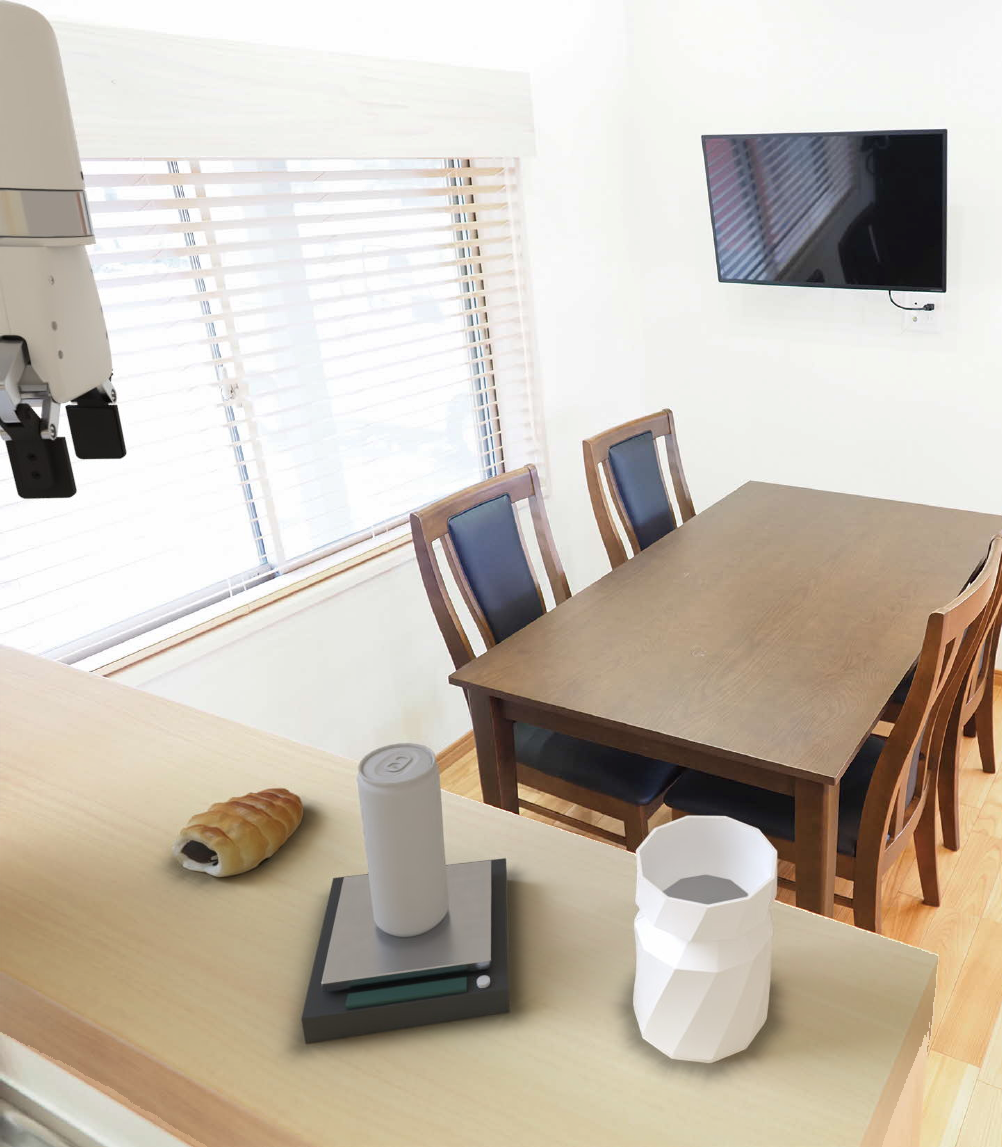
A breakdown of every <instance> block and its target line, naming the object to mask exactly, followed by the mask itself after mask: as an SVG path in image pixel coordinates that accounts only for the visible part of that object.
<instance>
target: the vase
mask: <svg viewBox="0 0 1002 1147" xmlns="http://www.w3.org/2000/svg"><path fill="white" fill-rule="evenodd" d="M635 857H636V868H637V871H636V872H637V873H636V887H635V896H634V903H635V904H636V905H637V907H638V908H639V910H638V912H637V914H636V915H635V918H634V920H633V931H634V940H635V941H634V942H635V954H636V964H635V977H634V978H635V979H634V986H633V995H632V1006H633V1011H634V1014H635V1018H636V1020H637V1024H638V1027H639V1031H640V1034H641V1037H642V1039H643V1040H645V1041H646V1042H647V1043H649V1044H650V1045H651V1046H653V1047H654V1048H656V1049H657V1050H659V1051H660V1052H661V1053H663V1054H664V1055H666V1056H667V1057H668V1058H669V1059H671V1060H679V1061H687V1062H696V1063H703V1064H712V1063H713V1064H714V1063H715V1062H717V1061H720V1060H723V1059H725V1058H727V1057H730V1056H733V1055H734V1054H735V1055H736V1054H737V1053H741V1052H742V1051H745V1050H747V1048H748V1047H749V1046H750V1044H751V1043H752V1042H753V1040H754V1039H755V1037H756V1036H757V1035H758V1033H759V1032H760V1030H761V1029H762V1028H763V1026H764V1025H765V1023H766V1021H767V1018H768V1009H769V1003H770V1002H769V1001H770V990H771V976H772V975H771V974H772V973H771V972H772V946H773V938H774V930H773V920H772V919H773V918H772V913H771V912H772V911H771V908H772V906H773V904H774V902H775V899H776V897H777V895H778V894H777V892H778V850H777V849H776V848H775V847H774V845H773V844H772V843H771V842H770V841H769V839H768V838H767V836H765V835H764V833H762V831H761V830H760V829H759V828H758V827H755V826H752V825H749V824H747V823H744V822H742V821H739V820H737V819H735V818H732V817H729V816H726V815H685V816H683V817H680V818H677V819H675V820H672V821H670V822H669V821H668V822H667V823H663V824H661V825H659V826H656V827H653V829H652V830H651V831H650V833H649V834H648V835H646V837H645V839H643V841H642V842H641V843H640V845H639V846H638V847H637V848H636V850H635Z"/></svg>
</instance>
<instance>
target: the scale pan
mask: <svg viewBox="0 0 1002 1147" xmlns="http://www.w3.org/2000/svg"><path fill="white" fill-rule="evenodd" d="M480 861H481V862H477V861H471V862H472V863H468V862H463V863H464V864H459V863H454V864H455V865H451V864H446V873H447V885H448V897H449V906H448V911H447V913H446V915H445V917H444V918H443V919H442V920H441V921H440V922H439V923H438V924H437V925H436V926H435V927H434V928H432V929H431V930H429V931H427V932H425V933H422V934H420V935H416V936H411V937H399V936H394V935H391V934H388V933H386V932H384V931H383V930H382V929H380V928H379V927H378V926H377V924H376V923H375V921H374V915H373V907H372V898H371V890H370V882H369V874H368V873H367V874H368V875H363V874H358V875H359V876H355V875H349V876H350V877H346V876H343V877H344V879H343V883H342V888H341V893H340V897H339V902H338V907H337V912H336V916H335V921H334V926H333V930H332V935H331V940H330V944H329V949H328V954H327V959H326V963H325V968H324V973H323V977H322V982H321V985H322V991H323V992H330V991H337V990H344V989H351V988H358V987H365V986H372V985H379V984H386V983H393V982H401V981H408V980H415V979H422V978H429V977H436V976H443V975H450V974H457V973H464V972H471V971H478V970H485V969H491V967H492V864H491V861H485V860H480Z"/></svg>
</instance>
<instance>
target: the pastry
mask: <svg viewBox="0 0 1002 1147" xmlns="http://www.w3.org/2000/svg"><path fill="white" fill-rule="evenodd" d="M301 799H302V798H301V797H300V796H299V795H298V794H295V793H293V792H290V791H289V790H288V789H287V788H285V787H278V788H277V787H275V788H274V787H271V788H266V789H262V790H260V791H258V792H248V793H247V794H245V795H243V796H233V797H231V798H229V799H227V801H225V802H216V803H213V804H211V805H210V807H209V808H208V809H207V811H205V812H203V813H198V814H194V815H193V816H191V818H190V819H189V820H188V822H187V824H186V827H183V828H182V829H180V831H179V834H178V835H177V837H176V838H175V840H174V841H173V844H172V846H171V848H170V851H171V856H172V857H173V859H175V860H176V861H178V862H179V864H180V865H182V866H183V868H185V869H186V870H189V871H194V872H199V873H207V875H211V876H213V877H218V878H224V877H231V876H234V875H235V876H237V875H241V874H244V873H246V872H248V871H251V870H253V869H255V868H257V867H258V866H259V864H260V863H261V862H263V861H264V860H265V859H270V858H271V857H272V856H273V855H274V854H275V853H276V852H278V851H279V849H280V848H281V847H282V846H283V845H284V844H285V843H286V842H287V841H288V839H289V838H290V837H291V836H292V835H293V834H294V833H295V832H296V830H297V829H298V827H299V826H300V825H301V824H302V820H303V816H304V805H303V802H302V800H301Z"/></svg>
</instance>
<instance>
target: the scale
mask: <svg viewBox="0 0 1002 1147" xmlns="http://www.w3.org/2000/svg"><path fill="white" fill-rule="evenodd" d="M481 861H482V860H477V861H476V862H481ZM484 861H491V864H492V967H491V969H485V970H478V971H471V972H464V973H457V974H450V975H443V976H436V977H429V978H422V979H415V980H408V981H401V982H393V983H386V984H379V985H372V986H365V987H358V988H351V989H344V990H337V991H330V992H323V991H322V985H321V982H322V977H323V973H324V968H325V963H326V959H327V954H328V949H329V944H330V940H331V935H332V930H333V926H334V921H335V916H336V912H337V907H338V902H339V897H340V893H341V888H342V883H343V879H344V877H350V876H351V875H346V876H339V877H333V878H332V880H331V881H332V882H331V886H330V891H329V895H328V899H327V904H326V908H325V912H324V917H323V921H322V926H321V930H320V935H319V939H318V944H317V948H316V953H315V956H314V962H313V965H312V970H311V975H310V978H309V984H308V987H307V992H306V996H305V1001H304V1005H303V1009H302V1014H301V1017H300V1020H301V1026H302V1033H303V1039H304V1044H305V1045H309V1044H316V1043H322V1042H327V1041H328V1042H329V1041H334V1040H340V1039H341V1040H342V1039H348V1038H354V1037H355V1038H356V1037H361V1036H367V1035H374V1034H380V1033H387V1032H393V1031H401V1030H406V1029H414V1028H419V1027H427V1026H434V1025H440V1024H447V1023H453V1022H458V1021H465V1020H473V1019H479V1018H485V1017H491V1016H498V1015H505V1014H509V1013H510V1012H511V1011H510V1010H511V1009H510V1008H511V1007H510V1006H511V1005H510V1001H511V1000H510V959H509V957H510V956H509V955H510V954H509V952H510V951H509V910H508V909H509V908H508V907H509V906H508V903H509V902H508V901H509V900H508V871H507V859H506V858H505V857H504V858H503V857H502V858H494V859H487V860H484ZM472 862H473V861H469V862H467V863H472ZM464 863H465V862H459V863H458V864H464ZM455 864H456V863H453V864H452V863H451V864H450V865H455ZM359 875H360V874H355V875H354V876H359ZM362 875H368V873H365V874H362Z"/></svg>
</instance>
